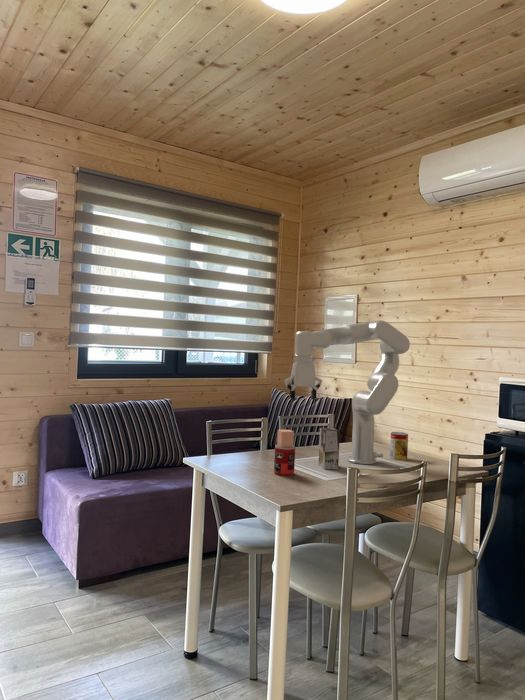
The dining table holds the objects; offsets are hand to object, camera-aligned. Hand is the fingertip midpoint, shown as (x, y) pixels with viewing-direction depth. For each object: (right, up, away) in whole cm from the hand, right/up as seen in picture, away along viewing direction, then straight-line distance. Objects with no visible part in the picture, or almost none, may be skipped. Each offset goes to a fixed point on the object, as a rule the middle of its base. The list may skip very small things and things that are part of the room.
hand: (303, 399), depth 225 cm
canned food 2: (+46, -30, +19) cm, 58 cm away
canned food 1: (-9, -28, -19) cm, 35 cm away
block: (-9, -16, -19) cm, 27 cm away
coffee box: (+10, -28, -4) cm, 30 cm away
